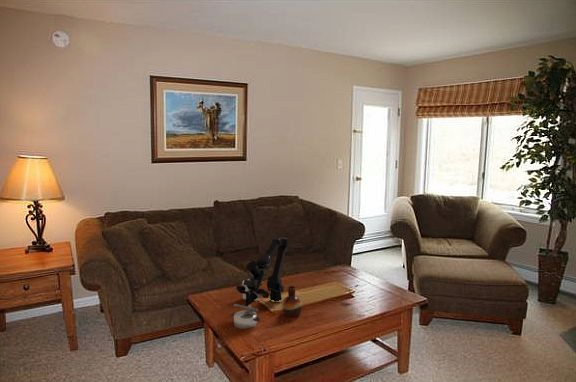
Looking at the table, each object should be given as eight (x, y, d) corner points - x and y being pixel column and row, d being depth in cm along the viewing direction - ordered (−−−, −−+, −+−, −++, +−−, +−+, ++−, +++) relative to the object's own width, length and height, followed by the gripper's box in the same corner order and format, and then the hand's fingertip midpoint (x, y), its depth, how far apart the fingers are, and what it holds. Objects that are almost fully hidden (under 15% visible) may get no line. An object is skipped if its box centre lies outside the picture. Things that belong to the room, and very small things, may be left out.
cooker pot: (238, 315, 219) (238, 307, 218) (265, 321, 210) (265, 313, 210) (225, 324, 208) (225, 316, 208) (252, 331, 200) (252, 323, 199)
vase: (295, 320, 211) (294, 292, 209) (278, 315, 217) (277, 289, 215) (305, 312, 221) (305, 285, 219) (289, 308, 226) (288, 282, 224)
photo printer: (260, 298, 242) (259, 279, 240) (257, 301, 237) (256, 281, 236) (244, 297, 245) (243, 278, 243) (241, 299, 241) (240, 280, 239)
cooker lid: (242, 307, 218) (243, 303, 218) (262, 311, 211) (262, 307, 212) (229, 304, 207) (230, 300, 207) (249, 309, 201) (250, 305, 201)
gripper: (236, 270, 217) (225, 296, 208) (265, 275, 208) (254, 302, 200) (245, 279, 225) (235, 305, 216) (273, 284, 216) (263, 311, 207)
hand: (246, 306), depth 210 cm, fingers closed, pressing on cooker lid
